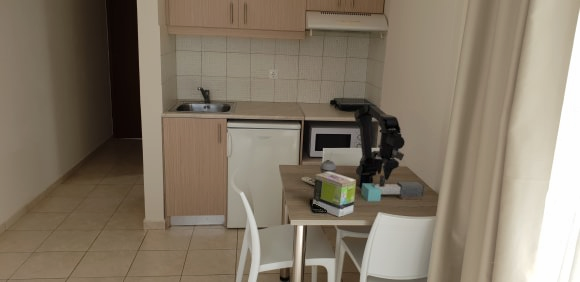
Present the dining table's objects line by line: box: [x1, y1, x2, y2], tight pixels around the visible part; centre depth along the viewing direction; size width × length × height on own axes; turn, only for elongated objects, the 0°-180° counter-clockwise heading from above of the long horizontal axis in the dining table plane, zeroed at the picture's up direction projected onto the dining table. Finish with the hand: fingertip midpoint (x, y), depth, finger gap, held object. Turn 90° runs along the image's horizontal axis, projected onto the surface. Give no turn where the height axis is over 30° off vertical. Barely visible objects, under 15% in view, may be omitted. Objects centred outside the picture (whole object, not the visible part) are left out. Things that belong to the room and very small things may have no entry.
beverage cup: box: [320, 151, 337, 173], centre depth 213 cm, size 7×7×20 cm
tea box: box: [312, 171, 357, 218], centre depth 192 cm, size 15×10×15 cm
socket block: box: [360, 182, 382, 202], centre depth 211 cm, size 6×9×6 cm, turn 11°
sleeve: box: [396, 181, 425, 201], centre depth 215 cm, size 11×5×7 cm, turn 101°
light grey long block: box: [372, 175, 402, 195], centre depth 212 cm, size 17×4×8 cm, turn 100°
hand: (382, 176), depth 210 cm, fingers open, 9 cm apart
